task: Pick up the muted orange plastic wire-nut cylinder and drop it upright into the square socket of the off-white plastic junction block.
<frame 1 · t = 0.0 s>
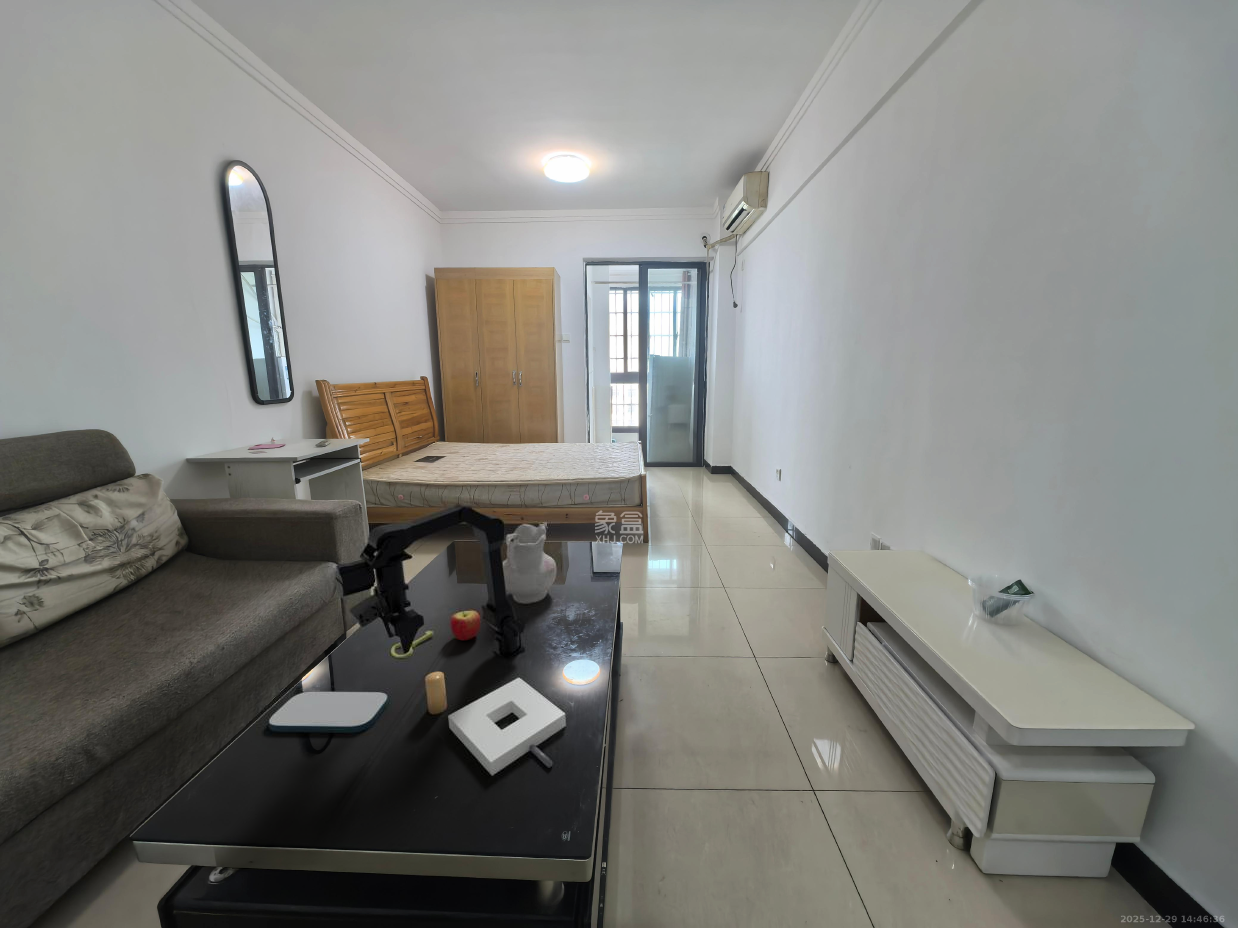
hand: (398, 644, 109), 15 cm above the table, tool pointing down, fingers open, 9 cm apart
external hard drive: (331, 716, 108), on the table
junction block: (507, 726, 103), on the table
key: (412, 648, 135), on the table
ceramic pitcher: (528, 597, 163), on the table
wire nut: (437, 707, 109), on the table
apple: (466, 637, 139), on the table
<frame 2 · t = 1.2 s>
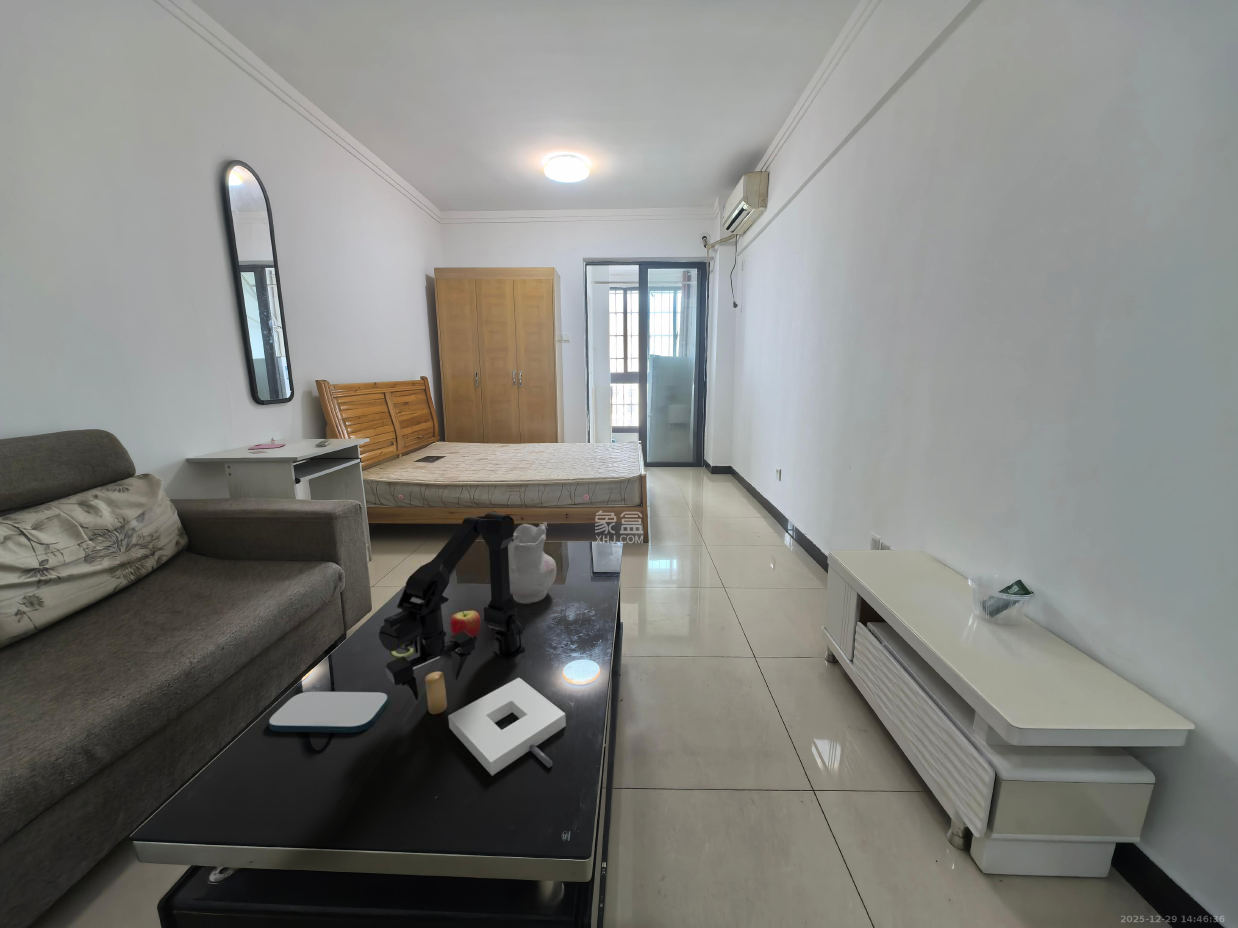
hand: (436, 689, 109), 5 cm above the table, tool pointing down, fingers open, 9 cm apart
nothing on the table moved.
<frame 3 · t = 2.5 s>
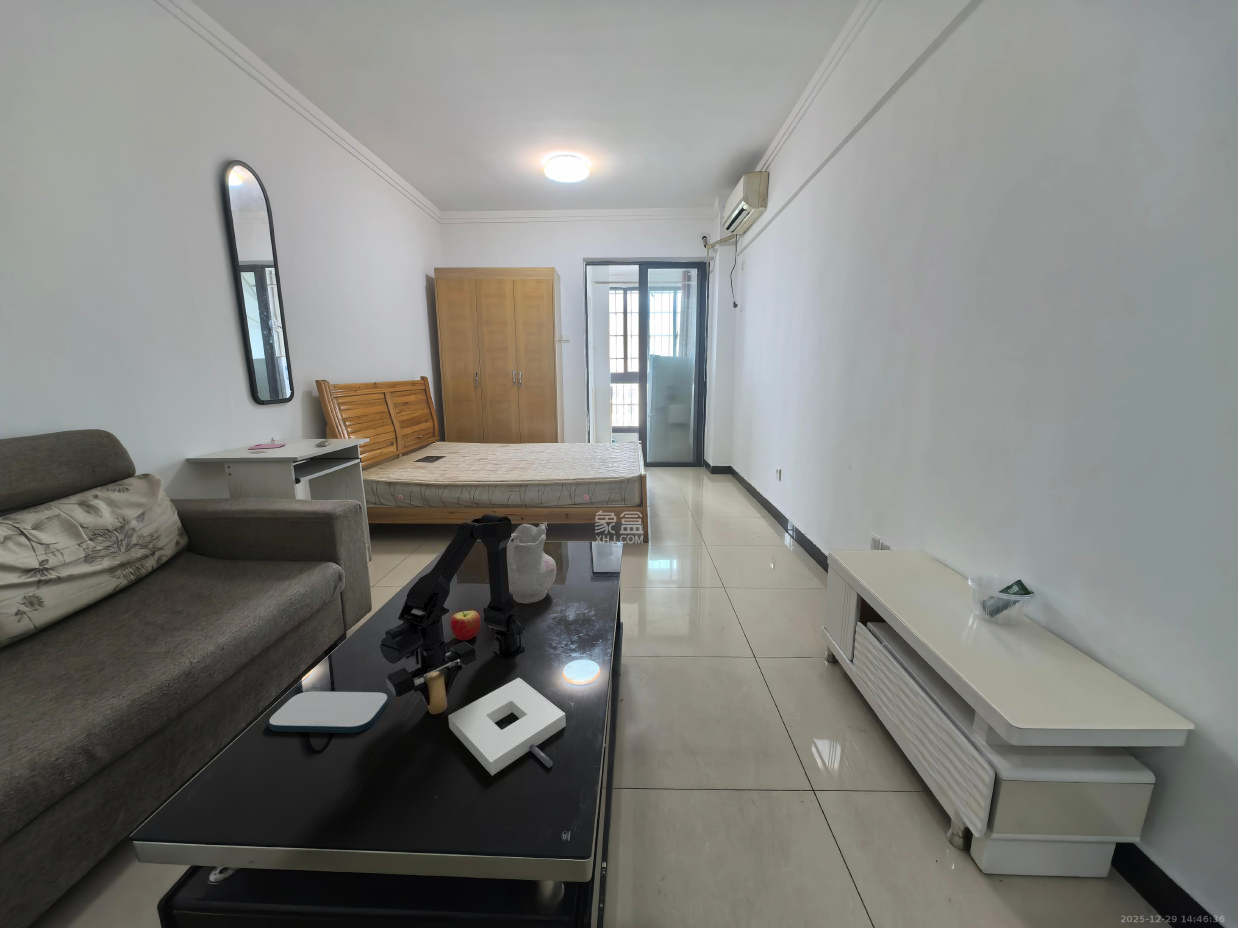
hand: (437, 699, 109), 2 cm above the table, tool pointing down, fingers closed on wire nut, 4 cm apart
wire nut: (437, 707, 109), on the table, touching gripper
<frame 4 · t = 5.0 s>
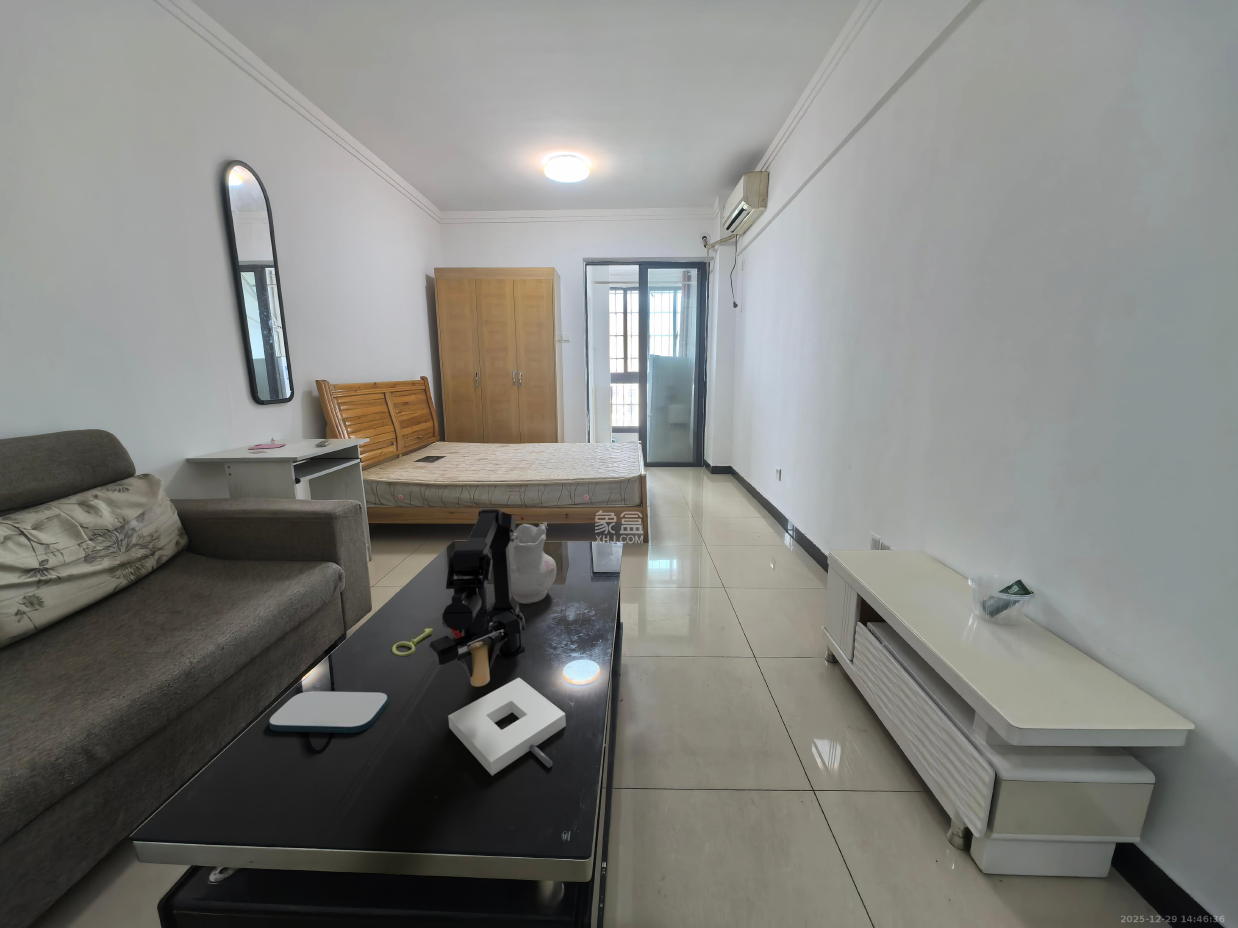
hand: (479, 671, 102), 12 cm above the table, tool pointing down, fingers closed on wire nut, 4 cm apart
wire nut: (480, 680, 103), point 10 cm above the table, touching gripper
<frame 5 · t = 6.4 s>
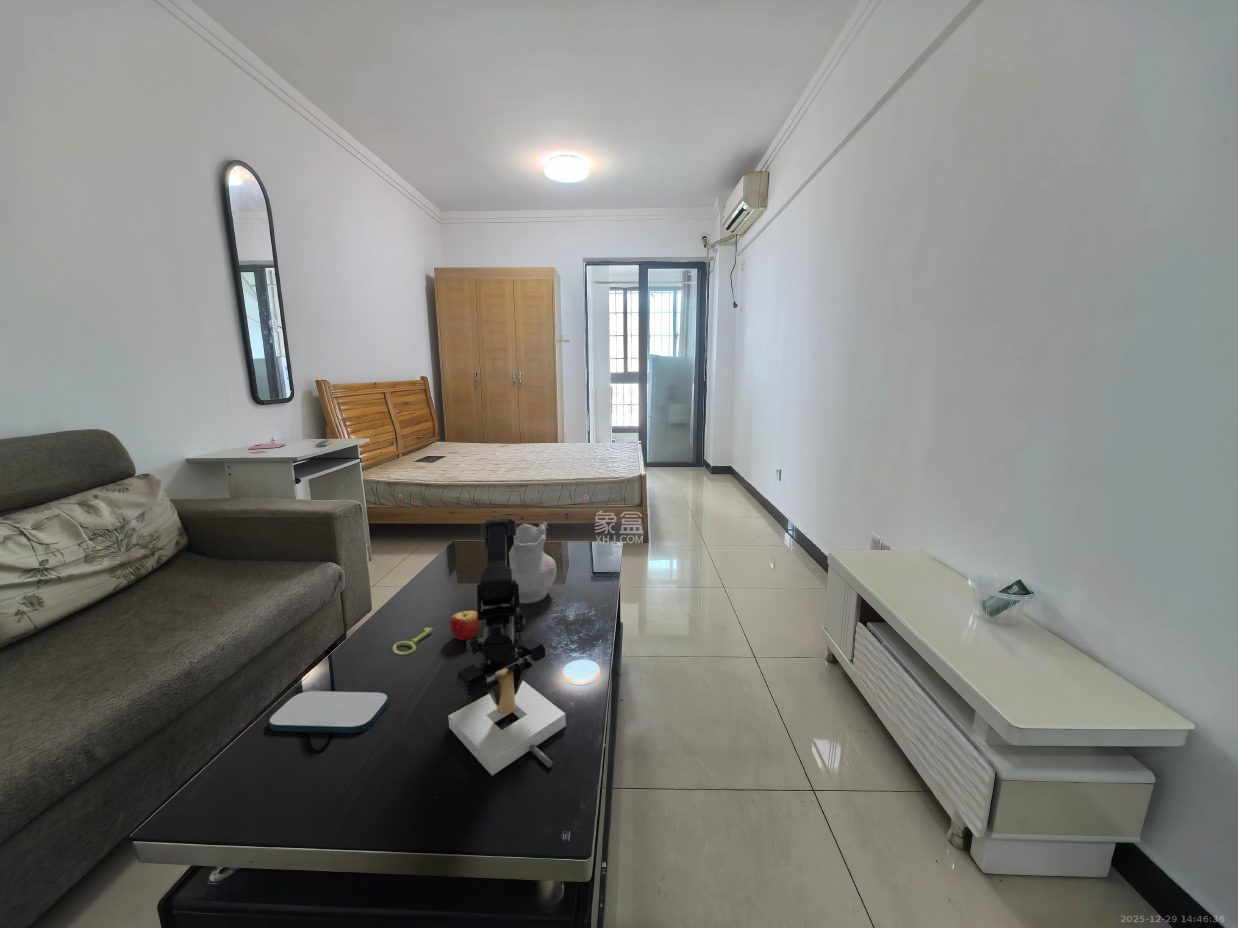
hand: (505, 699, 102), 7 cm above the table, tool pointing down, fingers closed on wire nut, 4 cm apart
wire nut: (506, 707, 102), point 5 cm above the table, touching gripper
when the fingers open (4 cm above the table, at t = 7.5 s): wire nut drops 2 cm, resting in junction block.
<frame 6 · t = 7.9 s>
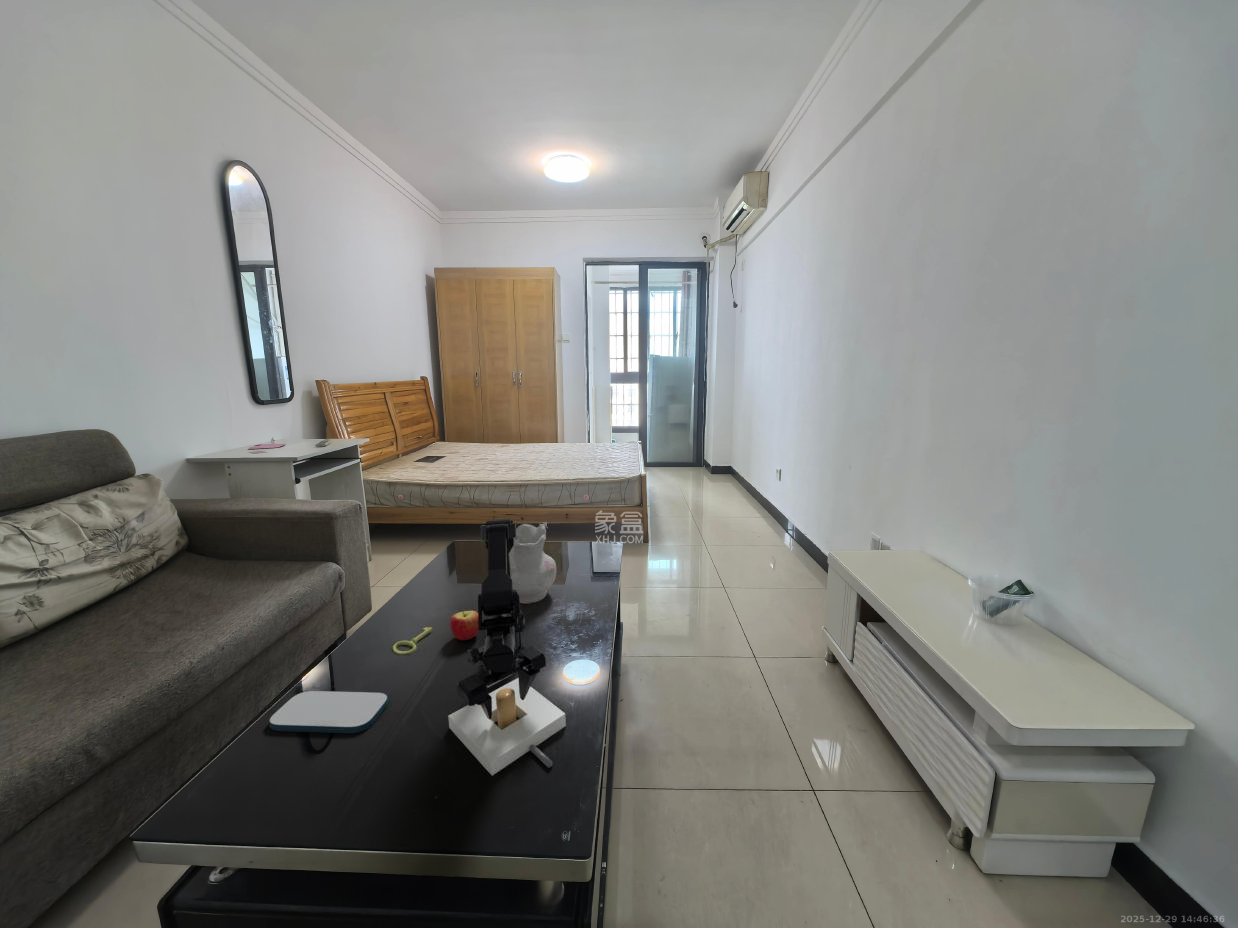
hand: (506, 708, 102), 4 cm above the table, tool pointing down, fingers open, 8 cm apart
wire nut: (507, 726, 103), resting in junction block
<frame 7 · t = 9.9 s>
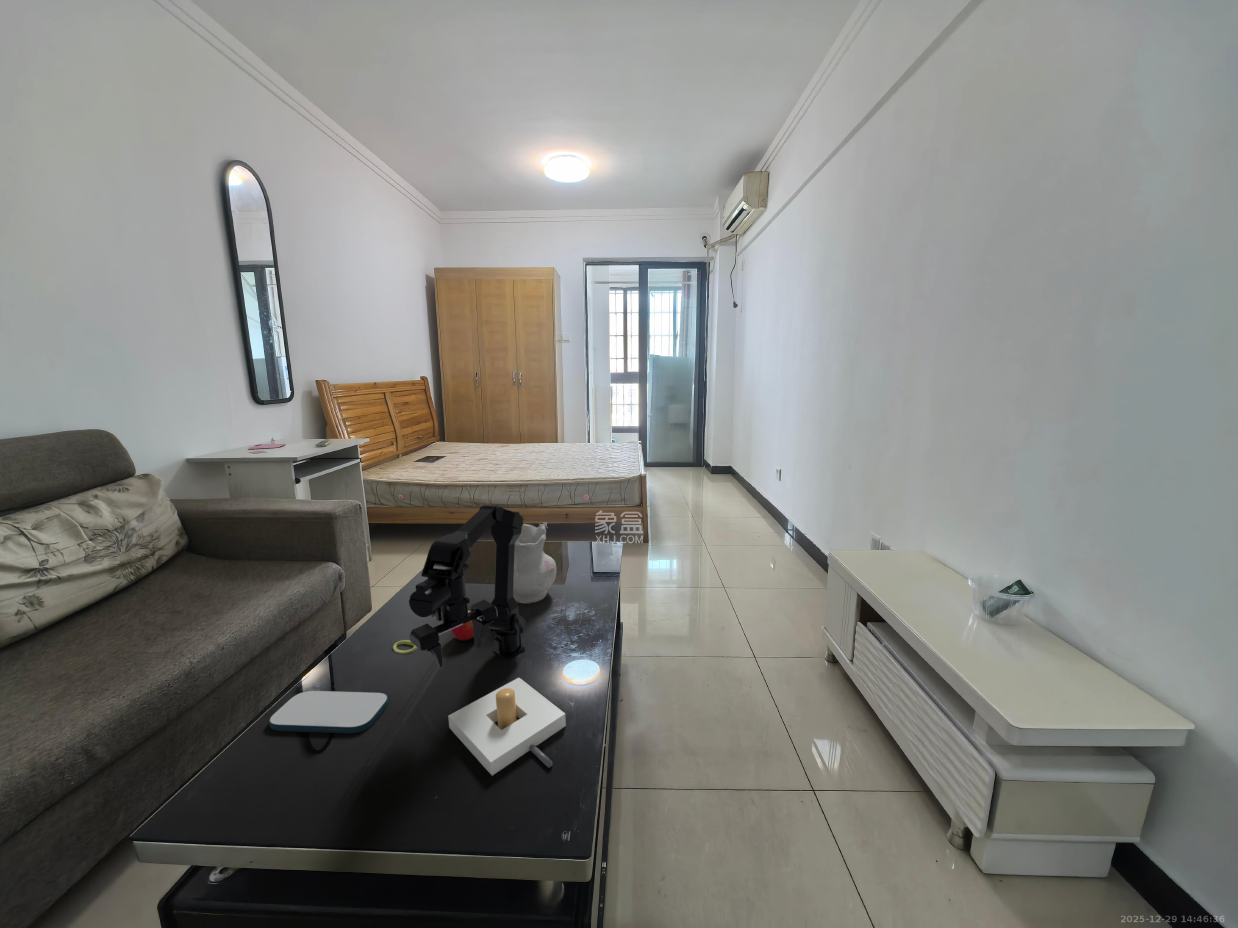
hand: (459, 656, 109), 12 cm above the table, tool pointing down, fingers open, 9 cm apart
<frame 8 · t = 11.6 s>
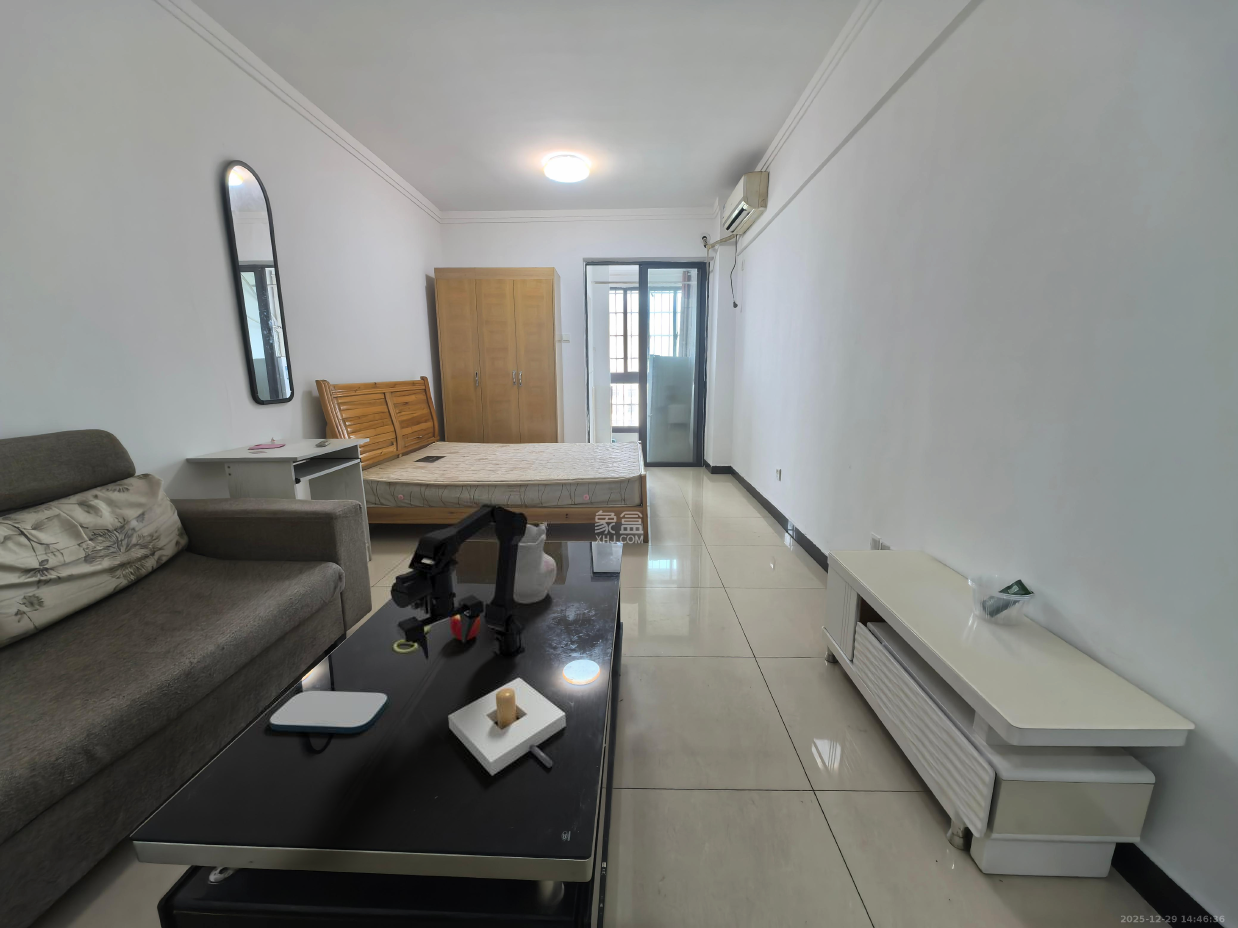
hand: (445, 650, 111), 12 cm above the table, tool pointing down, fingers open, 9 cm apart
at the end: wire nut 0.0 cm off-centre on the junction block, point 0.0 cm above the junction block's base; wire nut tilted 0°; the gripper is holding nothing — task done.
